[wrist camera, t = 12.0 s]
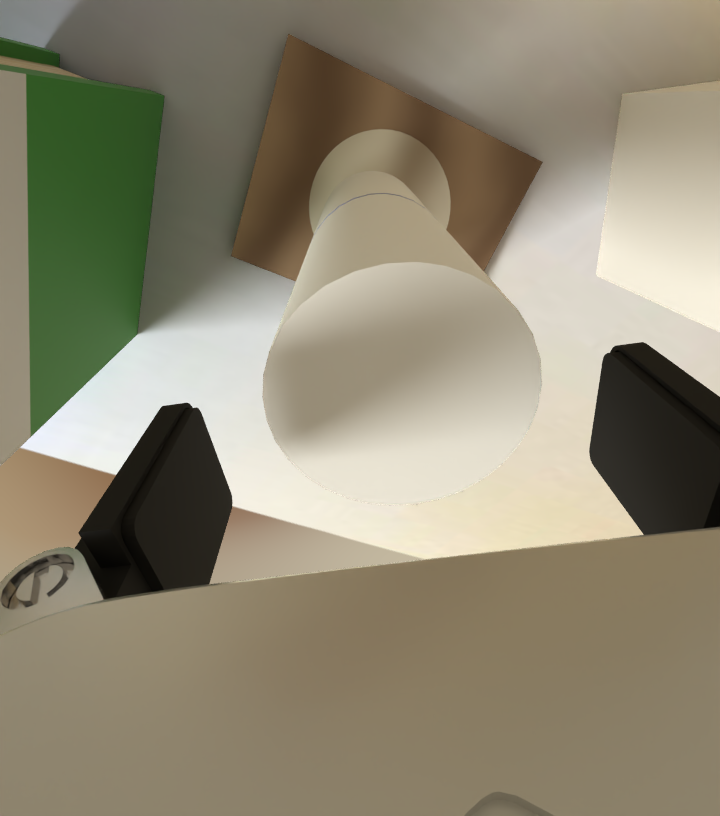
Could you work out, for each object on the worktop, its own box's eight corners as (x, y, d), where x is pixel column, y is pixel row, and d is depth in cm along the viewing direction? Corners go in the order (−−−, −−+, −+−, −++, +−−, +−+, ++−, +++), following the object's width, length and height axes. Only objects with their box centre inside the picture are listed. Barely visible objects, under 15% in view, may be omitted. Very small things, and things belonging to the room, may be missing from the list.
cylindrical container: (434, 185, 32) (593, 302, 11) (405, 285, 36) (481, 522, 14) (332, 158, 31) (285, 226, 10) (313, 263, 35) (247, 482, 13)
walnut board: (234, 252, 36) (230, 256, 34) (290, 37, 29) (288, 33, 28) (443, 334, 39) (446, 340, 38) (536, 160, 33) (543, 162, 31)
